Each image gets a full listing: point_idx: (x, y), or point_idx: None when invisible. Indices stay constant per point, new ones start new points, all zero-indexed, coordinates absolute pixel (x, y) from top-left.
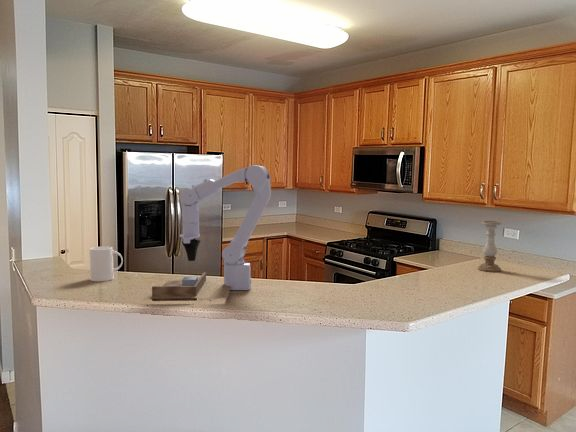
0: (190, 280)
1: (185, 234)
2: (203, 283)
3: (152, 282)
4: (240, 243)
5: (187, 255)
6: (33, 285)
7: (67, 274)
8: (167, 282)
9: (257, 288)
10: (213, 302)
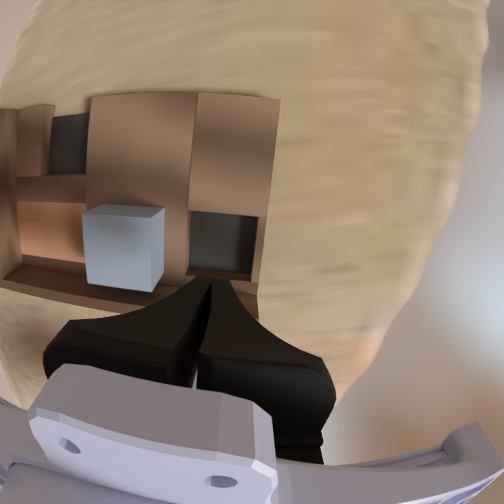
0: (86, 256)
1: (2, 491)
2: None
3: (338, 32)
4: None
5: (178, 290)
6: None
7: None
8: (233, 103)
9: None
10: (26, 315)
